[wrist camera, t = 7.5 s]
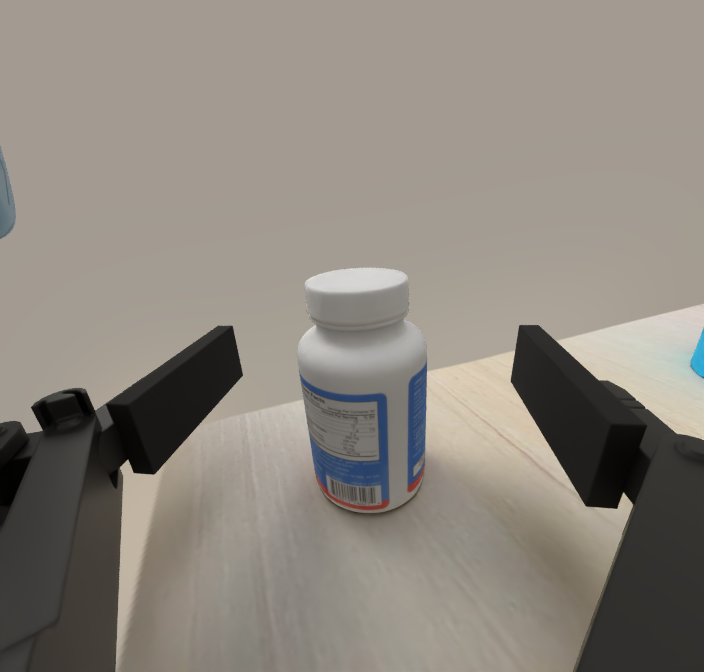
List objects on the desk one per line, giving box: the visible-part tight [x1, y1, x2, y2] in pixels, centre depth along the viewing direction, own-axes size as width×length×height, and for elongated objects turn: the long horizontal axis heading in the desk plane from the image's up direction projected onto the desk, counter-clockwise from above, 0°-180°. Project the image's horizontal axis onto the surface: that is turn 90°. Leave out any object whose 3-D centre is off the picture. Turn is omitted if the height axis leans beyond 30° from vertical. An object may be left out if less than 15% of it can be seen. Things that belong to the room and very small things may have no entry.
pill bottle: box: [297, 268, 427, 513], centre depth 14 cm, size 6×5×10 cm
